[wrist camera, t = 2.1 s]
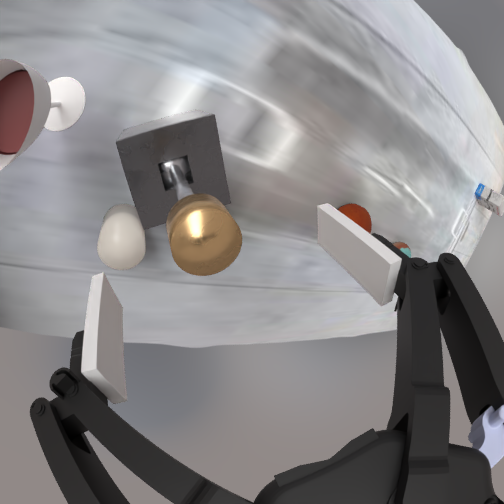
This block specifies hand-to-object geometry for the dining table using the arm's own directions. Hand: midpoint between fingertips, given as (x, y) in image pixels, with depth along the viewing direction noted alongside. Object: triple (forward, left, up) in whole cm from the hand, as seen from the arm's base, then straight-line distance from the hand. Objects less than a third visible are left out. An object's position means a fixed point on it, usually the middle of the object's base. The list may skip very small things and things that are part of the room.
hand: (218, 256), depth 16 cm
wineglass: (-14, +13, -30) cm, 36 cm away
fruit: (+31, -21, -30) cm, 48 cm away
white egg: (-10, -9, -30) cm, 33 cm away
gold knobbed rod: (0, 0, -20) cm, 20 cm away
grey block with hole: (0, 0, -30) cm, 30 cm away
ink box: (+99, -29, -30) cm, 107 cm away
